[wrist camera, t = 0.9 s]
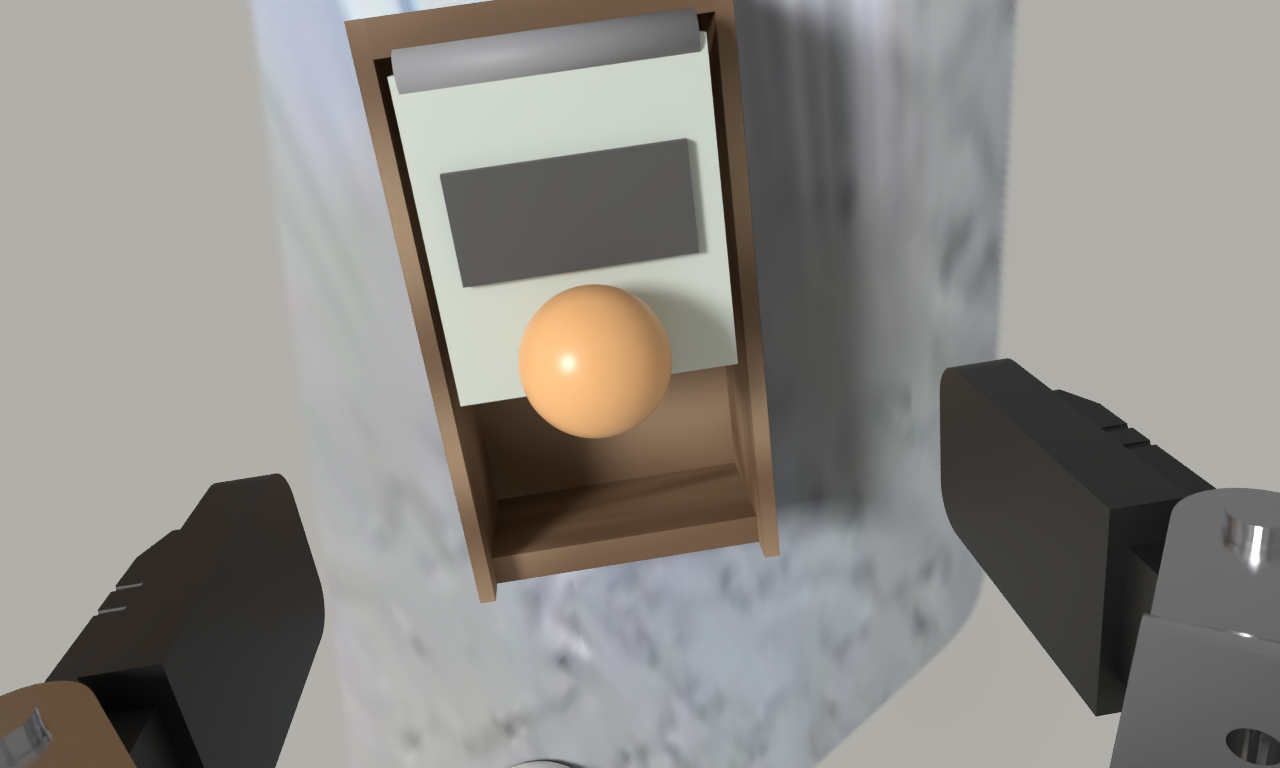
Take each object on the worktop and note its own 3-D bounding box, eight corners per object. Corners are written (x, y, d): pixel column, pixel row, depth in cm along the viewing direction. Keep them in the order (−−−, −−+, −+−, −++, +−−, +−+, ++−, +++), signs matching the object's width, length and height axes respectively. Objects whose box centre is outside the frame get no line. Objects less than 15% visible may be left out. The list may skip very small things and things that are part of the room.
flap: (388, 49, 24) (379, 52, 23) (697, 6, 24) (705, 6, 23) (463, 392, 28) (459, 410, 27) (731, 351, 28) (739, 367, 27)
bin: (382, 16, 30) (344, 21, 24) (697, -27, 30) (730, -34, 24) (490, 511, 37) (480, 603, 31) (745, 471, 37) (779, 555, 31)
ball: (490, 326, 26) (480, 380, 22) (604, 237, 25) (613, 277, 22) (581, 427, 27) (586, 494, 24) (691, 345, 27) (714, 401, 23)
